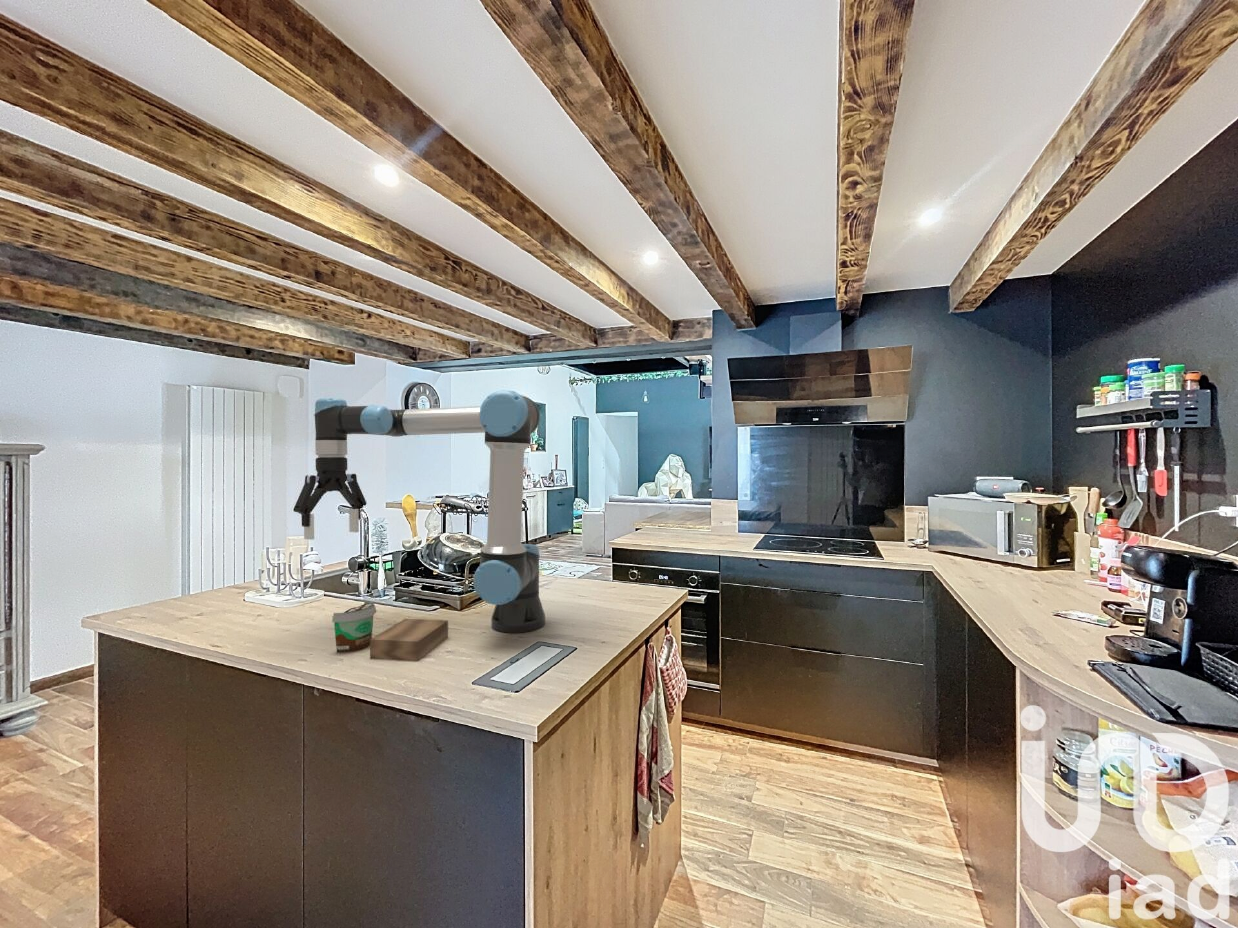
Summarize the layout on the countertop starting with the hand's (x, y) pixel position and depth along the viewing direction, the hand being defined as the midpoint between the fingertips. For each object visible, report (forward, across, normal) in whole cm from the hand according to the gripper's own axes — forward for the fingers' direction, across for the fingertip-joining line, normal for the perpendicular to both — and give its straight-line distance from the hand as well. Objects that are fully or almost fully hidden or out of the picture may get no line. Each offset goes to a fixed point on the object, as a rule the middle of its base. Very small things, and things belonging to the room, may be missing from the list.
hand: (332, 535), depth 142 cm
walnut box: (+27, 0, +27) cm, 38 cm away
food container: (+27, +4, +14) cm, 31 cm away
